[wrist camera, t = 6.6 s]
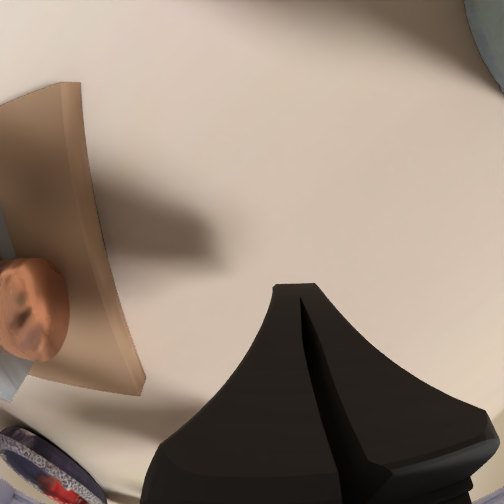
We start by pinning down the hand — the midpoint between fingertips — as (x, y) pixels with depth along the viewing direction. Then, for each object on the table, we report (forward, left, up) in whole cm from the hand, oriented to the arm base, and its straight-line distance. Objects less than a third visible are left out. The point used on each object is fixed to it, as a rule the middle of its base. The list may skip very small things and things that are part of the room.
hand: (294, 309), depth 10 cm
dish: (-34, +30, -4) cm, 45 cm away
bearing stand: (0, +17, -3) cm, 17 cm away
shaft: (0, +18, -1) cm, 18 cm away
